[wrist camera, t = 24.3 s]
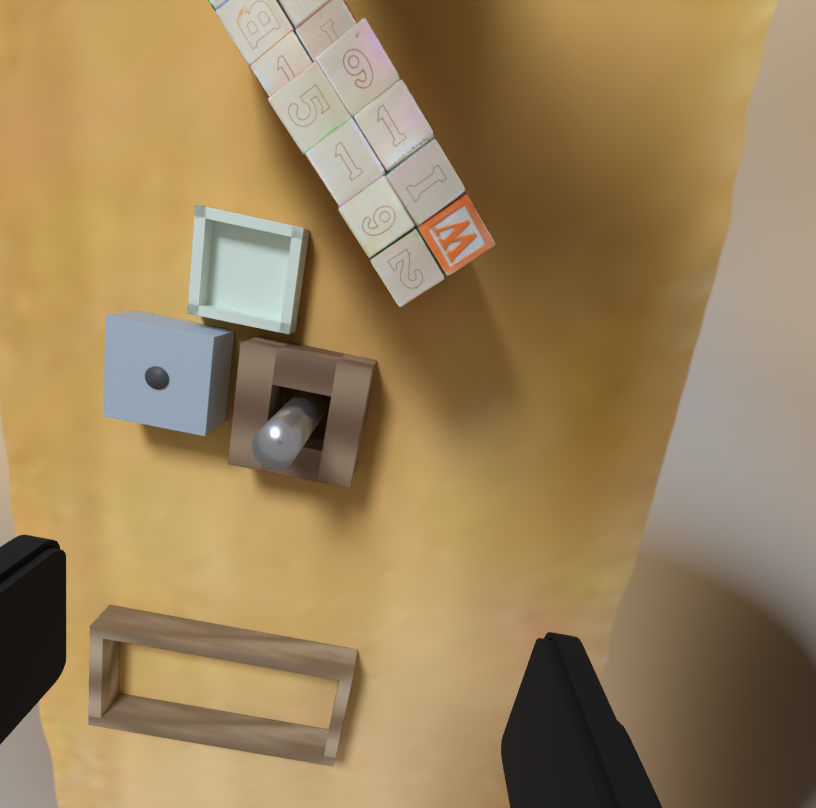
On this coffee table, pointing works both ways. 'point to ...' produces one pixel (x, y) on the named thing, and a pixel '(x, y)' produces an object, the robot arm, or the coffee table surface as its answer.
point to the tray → (246, 270)
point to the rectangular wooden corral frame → (209, 723)
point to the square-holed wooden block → (313, 372)
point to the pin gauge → (288, 430)
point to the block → (166, 372)
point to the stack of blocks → (361, 137)
